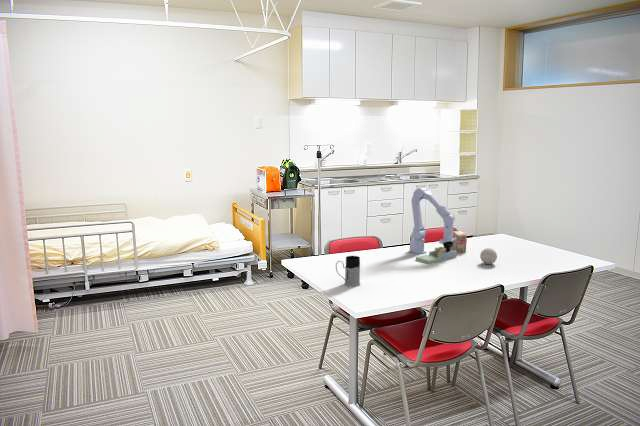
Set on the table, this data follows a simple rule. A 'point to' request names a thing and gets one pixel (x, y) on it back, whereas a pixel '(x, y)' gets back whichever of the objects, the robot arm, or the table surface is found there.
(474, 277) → the table surface
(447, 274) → the table surface
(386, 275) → the table surface
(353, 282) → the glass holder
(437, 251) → the maple block
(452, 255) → the pale green block
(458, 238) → the stack of blocks
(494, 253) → the eye model
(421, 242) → the robot arm
